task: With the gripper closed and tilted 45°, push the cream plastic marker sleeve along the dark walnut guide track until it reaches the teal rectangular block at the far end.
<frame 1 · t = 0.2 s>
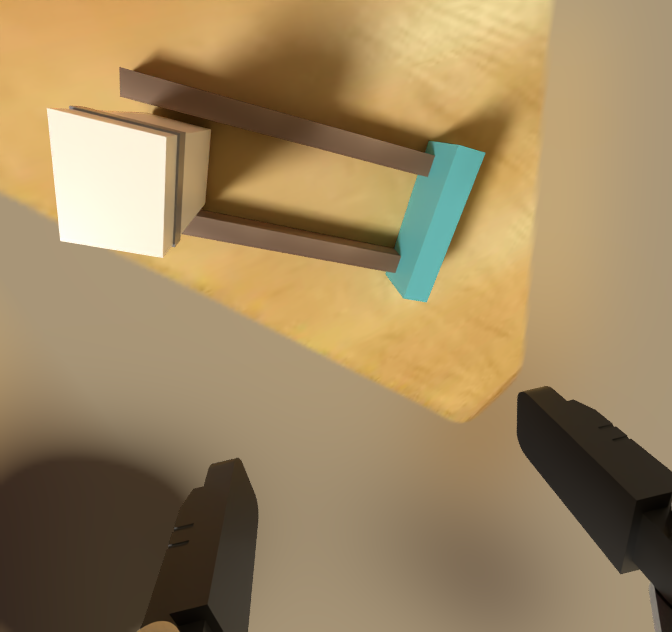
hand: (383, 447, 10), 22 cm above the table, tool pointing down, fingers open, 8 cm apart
teal rectangular block: (416, 215, 30), on the table
guide rails: (291, 186, 27), on the table
marker sleeve: (153, 172, 20), point 6 cm above the table, slide at 0.0 cm
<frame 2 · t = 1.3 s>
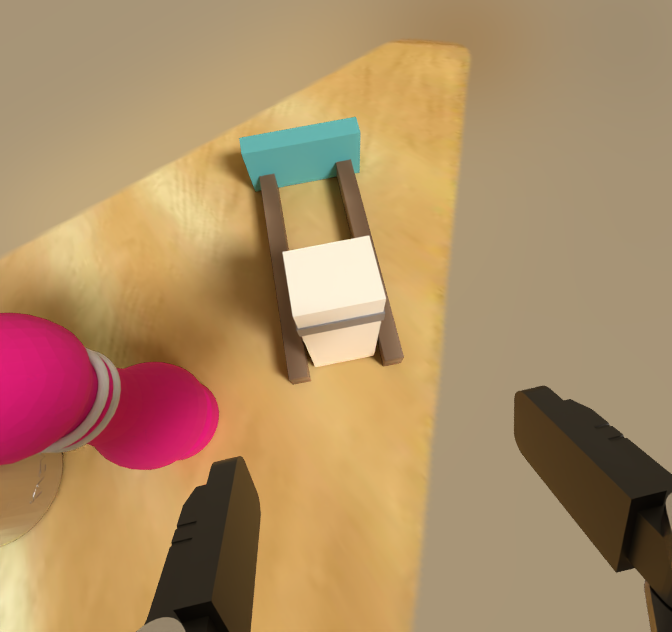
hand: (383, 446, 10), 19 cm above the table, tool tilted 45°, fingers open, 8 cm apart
teal rectangular block: (306, 174, 38), on the table
pepper mill: (182, 419, 29), on the table
guide rails: (323, 260, 34), on the table
marker sleeve: (337, 313, 25), point 6 cm above the table, slide at 0.0 cm
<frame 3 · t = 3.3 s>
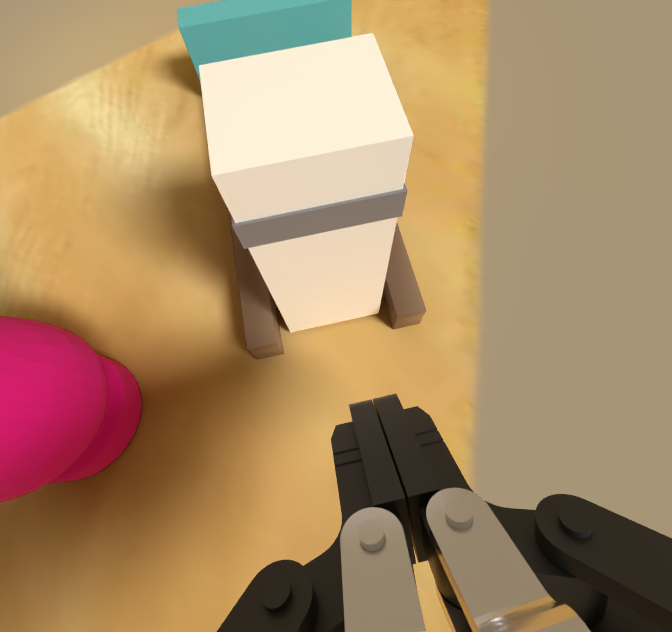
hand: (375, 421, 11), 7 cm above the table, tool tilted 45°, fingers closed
teal rectangular block: (278, 79, 27), on the table
pepper mill: (86, 416, 19), on the table
guide rails: (303, 186, 24), on the table
marker sleeve: (318, 230, 15), point 6 cm above the table, slide at 0.0 cm
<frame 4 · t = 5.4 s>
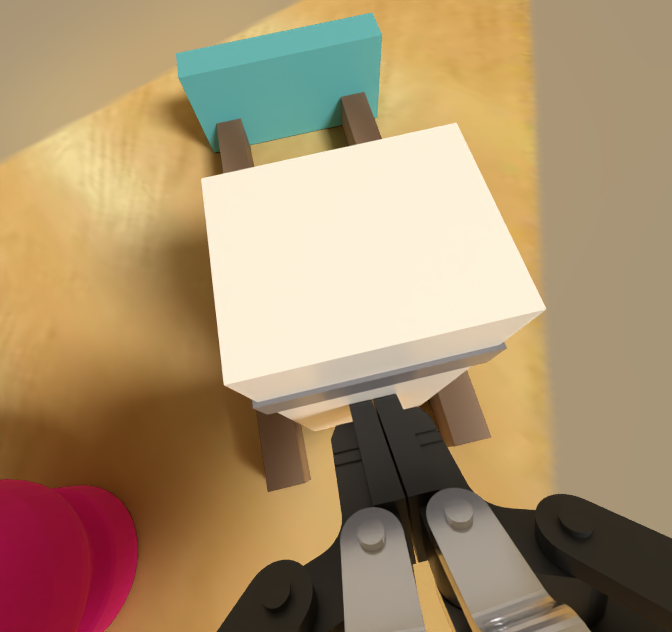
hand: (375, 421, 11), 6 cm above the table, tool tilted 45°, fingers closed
teal rectangular block: (293, 124, 24), on the table
pepper mill: (71, 563, 16), on the table
guide rails: (326, 256, 20), on the table
marker sleeve: (356, 340, 12), point 6 cm above the table, slide at 1.0 cm, touching gripper
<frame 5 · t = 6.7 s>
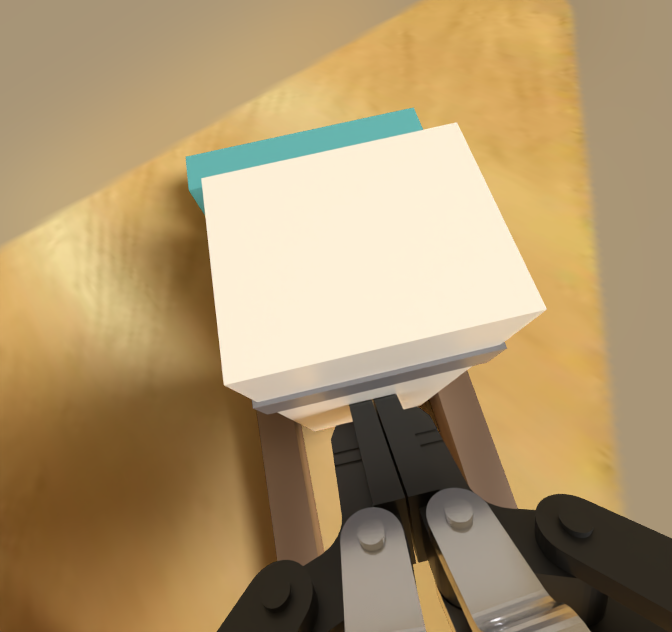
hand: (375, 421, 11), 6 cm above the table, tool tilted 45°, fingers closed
teal rectangular block: (316, 214, 21), on the table
guide rails: (359, 388, 17), on the table
marker sleeve: (356, 340, 12), point 6 cm above the table, slide at 8.5 cm, touching gripper
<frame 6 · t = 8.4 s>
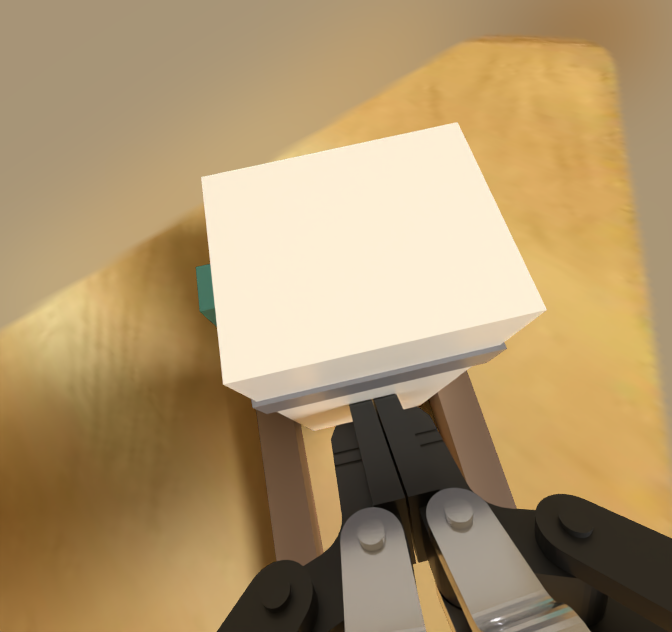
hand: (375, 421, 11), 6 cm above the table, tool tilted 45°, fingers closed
teal rectangular block: (339, 306, 19), on the table
guide rails: (393, 528, 15), on the table
marker sleeve: (356, 340, 12), point 6 cm above the table, slide at 14.6 cm, touching gripper
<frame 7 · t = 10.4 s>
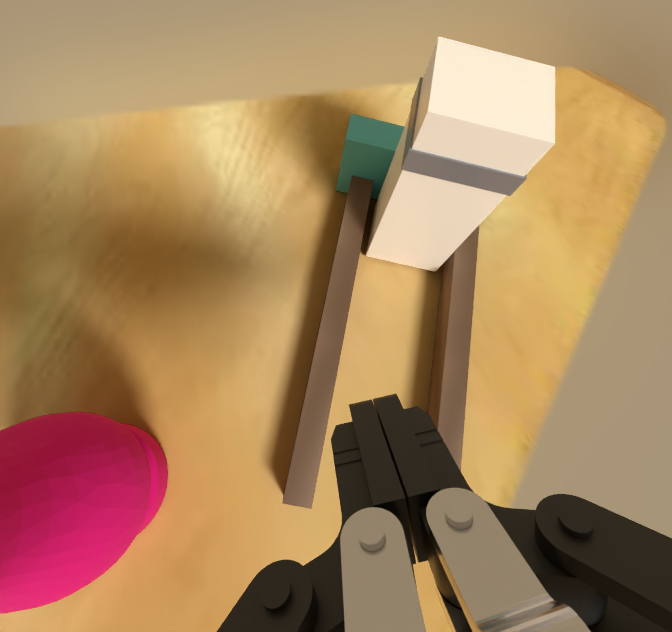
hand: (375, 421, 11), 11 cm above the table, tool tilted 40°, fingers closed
teal rectangular block: (409, 196, 27), on the table
pepper mill: (110, 482, 20), on the table
guide rails: (390, 328, 24), on the table
marker sleeve: (436, 185, 20), point 6 cm above the table, slide at 14.6 cm
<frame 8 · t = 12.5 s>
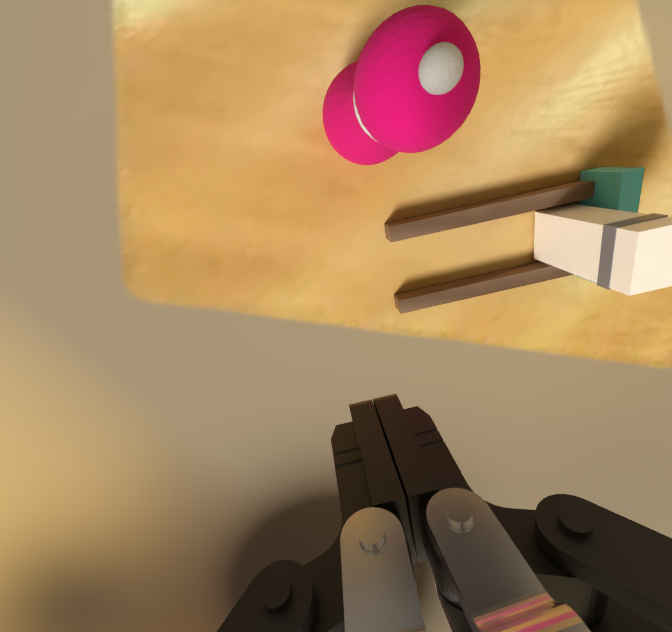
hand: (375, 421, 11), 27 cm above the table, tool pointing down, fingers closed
teal rectangular block: (585, 223, 38), on the table
pepper mill: (358, 121, 32), on the table
guide rails: (490, 244, 38), on the table
marker sleeve: (596, 243, 32), point 6 cm above the table, slide at 14.6 cm
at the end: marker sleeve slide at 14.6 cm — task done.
